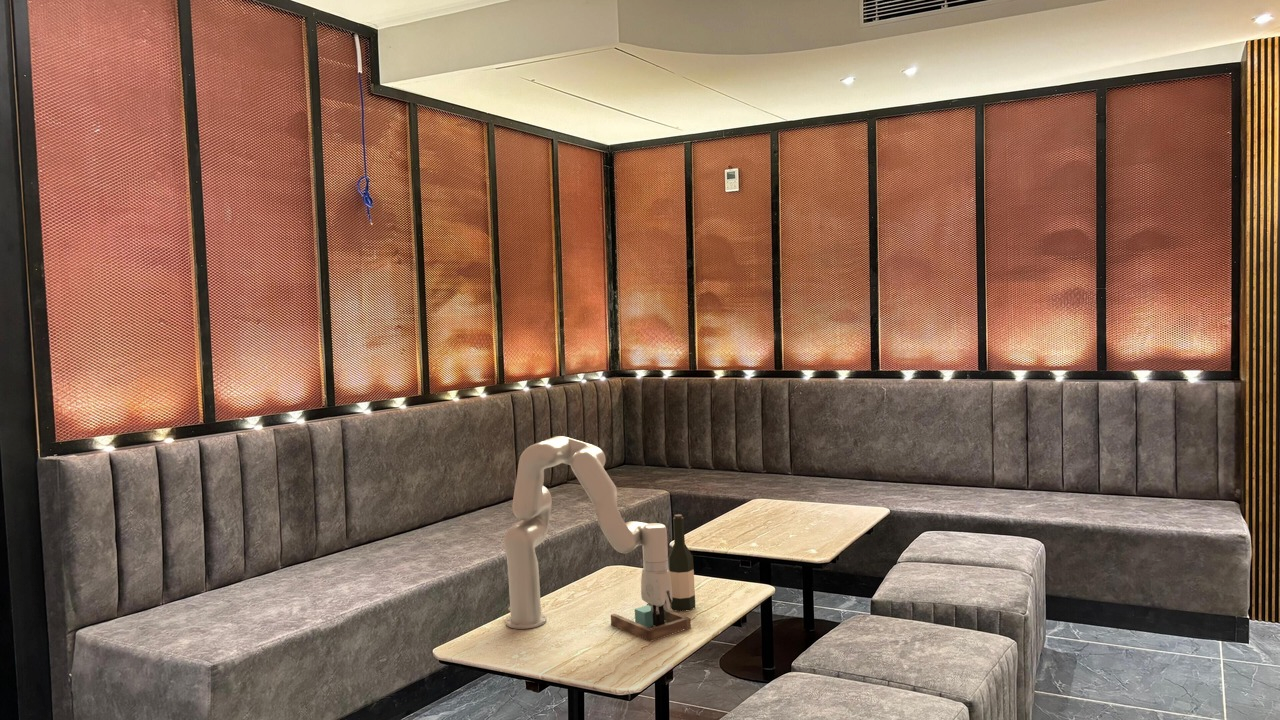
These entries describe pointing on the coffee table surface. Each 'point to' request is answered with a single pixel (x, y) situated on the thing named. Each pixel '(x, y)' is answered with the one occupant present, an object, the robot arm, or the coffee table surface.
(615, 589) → the coffee table surface
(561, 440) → the robot arm
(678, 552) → the wine bottle
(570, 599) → the coffee table surface
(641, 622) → the teal block
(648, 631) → the frame
